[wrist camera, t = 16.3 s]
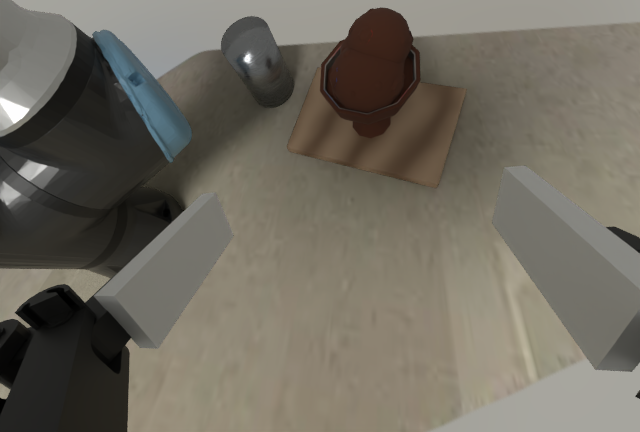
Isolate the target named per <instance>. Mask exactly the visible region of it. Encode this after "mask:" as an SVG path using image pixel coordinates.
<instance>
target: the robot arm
mask: <svg viewBox="0 0 640 432" xmlns="http://www.w3.org/2000/svg"><path fill="white" fill-rule="evenodd" d="M92 35H93V38H91V37H89V36H87V35H86V34H85V33H83V32H82V31H81V30H80V29H78V28H77V27H76V26H75V25H74V24H73V23H71V22H70V21H69V20H67V19H66V18H65V17H63V16H62V15H58V14H52V13H45V12H37V11H30V10H27V9H24V8H22V7H19V6H18V5H17V4H15V3H14V2H13V1H12V0H0V268H19V269H86V270H89V271H92V272H95V273H98V274H100V275H103V276H106V277H109V278H111V279H110V280H109V281H108V282H107V283H106V284H105V285H104V286H103V287H102V288H100V289H99V290H98V291H97V292H96V293H95V294H94V295H93V296H92V297H91V298H90V299H89V300H88V301H87V302H86V303H85V302H84V301H83V300H82V299H81V298H80V297H79V296H78V295H77V294H76V293H75V292H74V291H73V290H72V289H71V288H70V287H69V286H68V285H65V284H63V285H56V286H53V287H50V288H48V289H46V290H44V291H42V292H40V293H38V294H36V295H35V296H33V297H31V298H30V299H28V300H27V301H26V302H25V303H23V304H22V305H21V306H20V307H19V308H18V310H17V311H16V312H15V313H16V314H17V315H18V316H19V317H21V318H22V319H23V320H24V321H25V322H27V323H28V324H29V325H30V326H31V327H30V328H26V327H25V326H24V325H23V324H21V323H20V322H19V321H18V320H15V319H11V320H6V321H3V322H0V383H1V384H3V385H4V386H6V387H7V388H9V389H11V390H10V393H9V395H8V397H7V399H1V398H0V432H127V421H128V386H129V350H128V348H127V347H126V346H125V345H126V343H127V342H128V341H129V340H130V338H132V339H133V341H134V342H135V343H136V344H137V345H138V346H139V347H140V348H159V346H160V345H161V343H162V342H163V340H164V339H165V337H166V336H167V334H168V333H169V331H170V330H171V328H172V327H173V325H174V324H175V322H176V321H177V319H178V318H179V316H180V315H181V313H182V312H183V310H184V309H185V307H186V306H187V304H188V303H189V301H190V300H191V299H192V297H193V296H194V294H195V293H196V291H197V290H198V288H199V287H200V285H201V284H202V282H203V281H204V279H205V278H206V276H207V275H208V273H209V272H210V270H211V269H212V267H213V266H214V264H215V263H216V261H217V260H218V258H219V257H220V255H221V254H222V252H223V251H224V249H225V248H226V246H227V245H228V243H229V242H230V240H231V239H232V237H233V236H234V235H233V233H232V230H231V228H230V225H229V223H228V221H227V218H226V216H225V213H224V211H223V208H222V206H221V204H220V201H219V199H218V196H217V194H216V192H215V193H204V194H202V195H200V196H199V197H198V198H197V199H196V200H195V201H194V202H193V203H192V204H191V205H190V206H189V207H188V208H187V209H186V210H185V211H183V212H182V209H181V207H180V205H179V204H178V202H177V201H176V200H175V199H174V198H173V197H172V196H170V195H168V194H166V193H164V192H161V191H159V190H156V189H153V188H147V187H141V186H142V185H143V184H145V183H146V182H147V181H148V180H149V179H150V178H152V177H153V176H154V175H155V174H156V173H157V172H159V171H160V170H161V169H162V168H163V167H165V166H166V165H167V164H168V163H169V162H170V163H172V162H173V160H174V157H175V156H176V155H177V154H178V153H179V152H180V151H182V150H183V149H184V148H185V147H186V146H187V145H188V144H189V142H190V141H191V137H192V131H191V127H190V125H189V123H188V121H187V120H186V118H185V117H184V115H183V114H182V112H181V111H180V109H179V108H178V107H177V105H176V104H175V103H174V102H173V100H172V99H171V98H170V96H169V95H168V94H167V93H166V91H165V90H164V89H163V88H162V86H161V85H160V84H159V83H158V81H157V80H156V79H155V78H154V77H153V76H152V74H151V73H150V72H149V71H148V69H147V68H146V67H145V66H144V65H143V64H142V63H141V62H140V61H139V59H138V58H137V57H136V56H135V55H134V54H133V53H132V51H131V50H130V49H129V48H128V47H127V46H126V45H125V44H124V43H123V42H122V41H120V40H119V39H118V38H117V37H116V36H115V35H114V34H113V33H112V32H110V31H108V30H102V31H100V32H97V31H95V32H94V33H93V34H92ZM492 224H493V225H494V226H495V228H496V229H497V231H498V232H499V234H500V235H501V236H502V238H503V239H504V241H505V242H506V244H507V245H508V246H509V248H510V249H511V251H512V252H513V253H514V255H515V256H516V258H517V259H518V261H519V262H520V263H521V265H522V266H523V268H524V269H525V271H526V272H527V273H528V275H529V276H530V278H531V279H532V280H533V282H534V283H535V285H536V286H537V288H538V289H539V290H540V292H541V293H542V295H543V296H544V298H545V299H546V300H547V302H548V303H549V305H550V306H551V307H552V309H553V310H554V312H555V313H556V315H557V316H558V317H559V319H560V320H561V322H562V323H563V325H564V326H565V327H566V329H567V330H568V332H569V333H570V334H571V336H572V337H573V339H574V340H575V342H576V343H577V344H578V346H579V347H580V349H581V350H582V351H583V353H584V354H585V356H586V357H587V359H588V360H589V361H590V363H591V364H592V366H593V367H594V369H595V370H610V371H630V372H632V371H633V370H634V368H635V367H636V366H637V365H638V364H639V362H640V238H638V237H637V236H635V235H632V234H630V233H628V232H625V231H623V230H621V229H619V228H616V227H605V226H603V225H602V224H601V223H599V222H598V221H597V220H596V219H594V218H593V217H592V216H590V215H589V214H588V213H586V212H585V211H584V210H583V209H581V208H580V207H579V206H577V205H576V204H575V203H573V202H572V201H571V200H570V199H568V198H567V197H566V196H564V195H563V194H562V193H560V192H559V191H558V190H557V189H555V188H554V187H553V186H551V185H550V184H549V183H547V182H546V181H545V180H544V179H542V178H541V177H540V176H538V175H537V174H536V173H535V172H533V171H532V170H531V169H529V168H528V167H527V166H514V167H504V170H503V175H502V179H501V184H500V188H499V193H498V197H497V202H496V207H495V211H494V216H493V220H492ZM636 397H637V398H639V399H640V390H639V392H638V393H637V395H636Z"/></svg>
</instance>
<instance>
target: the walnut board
mask: <svg viewBox="0 0 640 432" xmlns="http://www.w3.org/2000/svg"><path fill="white" fill-rule="evenodd" d="M320 79H321V68H317V71H316V73H315V76H314V78H313V81H312V83H311V86H310V88H309V91H308V94H307V96H306V99H305V101H304V104H303V106H302V109H301V111H300V114H299V117H298V119H297V122H296V124H295V127H294V129H293V132H292V134H291V137H290V140H289V142H288V145H287V148H288V150H289V151H290V152H293V153H297V154H301V155H305V156H309V157H313V158H317V159H321V160H325V161H329V162H333V163H337V164H341V165H345V166H349V167H353V168H357V169H361V170H366V171H370V172H374V173H378V174H382V175H386V176H390V177H394V178H398V179H402V180H406V181H410V182H414V183H418V184H422V185H426V186H430V187H434V188H437V186H438V185H439V181H440V178H441V175H442V171H443V168H444V165H445V161H446V158H447V155H448V151H449V148H450V145H451V141H452V138H453V135H454V131H455V128H456V125H457V121H458V118H459V115H460V111H461V108H462V105H463V101H464V98H465V95H466V91H467V89H463V88H456V87H450V86H443V85H436V84H429V83H422V82H419V84H418V86H417V88H416V90H415V91H414V92H413V93H412V95H411V96H410V97H409V99H408V100H407V101H406V102H405V104H404V105H403V106H402V108H401V109H400V110H399V111H398V113H397V114H395V115H394V116H392V117H391V125H390V126H389V127H388V128H387V130H386V131H385V132H384V134H382V135H379V136H376V137H373V138H368V137H363V136H359V135H358V133H357V132H356V131H355V130H354V128H353V121H349V120H345V119H343V118H341V117H340V116H339V115H338V114H337V113H336V111H335V110H334V109H333V108H332V106H331V105H330V104H329V103H328V102H327V100H326V99H325V98H324V96H323V95H322V93H321V92H320Z"/></svg>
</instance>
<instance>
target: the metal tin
mask: <svg viewBox="0 0 640 432" xmlns="http://www.w3.org/2000/svg"><path fill="white" fill-rule="evenodd" d="M221 50H222V52H223V54H224V56H225V57H226V58H227V60H228V61H229V63H230V64H231V65H232V67H233V68H234V70H235V71H236V73H237V74H238V75H239V77H240V78H241V80H242V81H243V82H244V84H245V85H246V87H247V88H248V89H249V91H250V92H251V94H252V95H253V96H254V98H255V99H256V101H257V102H258V103H259V104H260V105H262V106H264V107H267V108H273V107H277V106H280V105H282V104H283V103H285V102H286V101H287V100H288V99H289V97H290V96H291V94H292V92H293V88H294V83H293V80H292V77H291V75H290V73H289V71H288V69H287V66H286V64H285V62H284V60H283V58H282V55H281V53H280V51H279V49H278V47H277V44H276V42H275V40H274V38H273V35H272V33H271V31H270V29H269V27H268V25H267V23H266V22H265V21H264V20H263V19H261V18H259V17H252V16H251V17H245V18H242V19H240V20H238V21H236V22H235V23H233V24H232V25H231V26H230V27H229V28H228V29H227V30H226V32H225V34H224V35H223V38H222V41H221Z"/></svg>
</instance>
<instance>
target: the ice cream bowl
mask: <svg viewBox="0 0 640 432" xmlns="http://www.w3.org/2000/svg"><path fill="white" fill-rule="evenodd" d="M412 42H413V37H412V34H411V31H409V27H408V24H407V21H406V20H405V19H404V18H403V16H402V15H401V14H399V13H397V12H395V11H393V10H391V9H388V8H377V9H370V10H369V11H368V12H366V13H365V14H363V15H362V16H360V18H358V19H356V20H355V22H354V23H353V25H352V26H351V28H350V30H349V34H348V36H347V38H346V39H345V40H342V41H340V42H339V43H338V44H337V46H336V47H335V48H334V49H333V51H332V52H331V53H330V54H329V56H328V57H327V58H326V59H325V61H324V62H323V63H322V64H321V79H320V92H321V93H322V95H323V96H324V98H325V99H326V100H327V102H328V103H329V104H330V105H331V106H332V108H333V109H334V110H335V111H336V113H337V114H338V115H339V116H340V117H341V118H343V119H345V120H349V121H353V128H354V130H355V131H356V132H357V133H358V135H359V136H363V137H368V138H373V137H376V136H379V135H382V134H384V132H385V131H386V130H387V128H388V127H389V126H390V125H391V117H392V116H394V115H395V114H397V113H398V111H399V110H400V109H401V108H402V106H403V105H404V104H405V102H406V101H407V100H408V99H409V97H410V96H411V95H412V93H413V92H414V91H415V90H416V88H417V86H418V84H419V82H420V54H419V51H418V50H417V49H416V48H415V47H414V46H413V45H412Z"/></svg>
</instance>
